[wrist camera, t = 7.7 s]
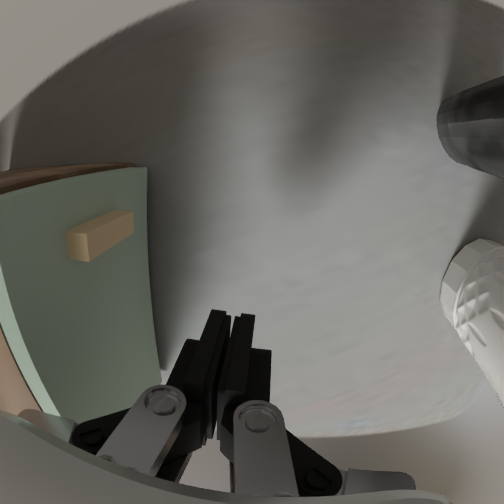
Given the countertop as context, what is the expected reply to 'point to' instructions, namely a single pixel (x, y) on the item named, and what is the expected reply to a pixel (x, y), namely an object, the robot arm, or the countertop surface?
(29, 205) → the door
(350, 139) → the countertop surface
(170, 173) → the countertop surface
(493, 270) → the white cup
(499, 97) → the beverage cup
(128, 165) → the wooden storage crate
